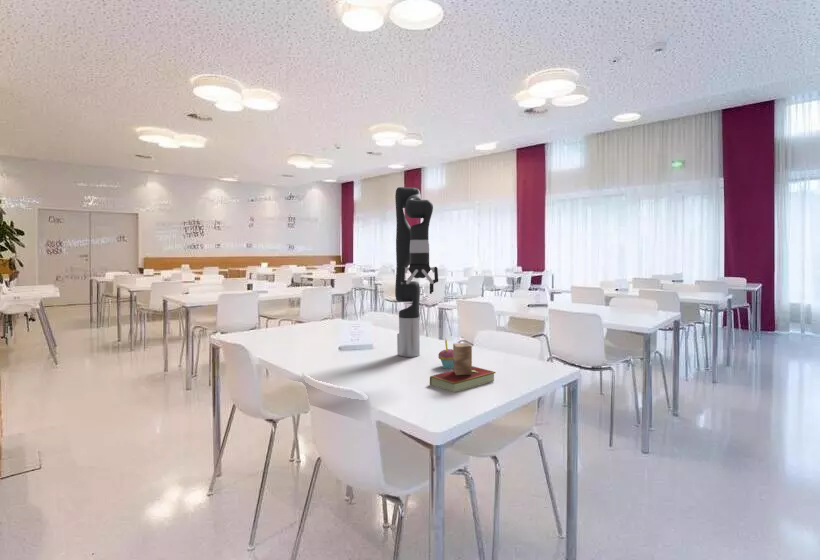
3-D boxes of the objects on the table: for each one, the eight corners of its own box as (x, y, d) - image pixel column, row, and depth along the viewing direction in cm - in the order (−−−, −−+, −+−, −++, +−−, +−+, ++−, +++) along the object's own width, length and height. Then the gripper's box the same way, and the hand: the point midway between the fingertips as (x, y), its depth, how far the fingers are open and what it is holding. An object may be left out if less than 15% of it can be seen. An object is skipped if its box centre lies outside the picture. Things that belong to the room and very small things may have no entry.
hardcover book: (429, 386, 159) (429, 374, 158) (470, 375, 172) (470, 364, 172) (454, 395, 149) (454, 382, 149) (495, 382, 163) (495, 371, 163)
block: (456, 375, 158) (456, 346, 157) (453, 371, 163) (453, 343, 163) (471, 374, 158) (471, 346, 157) (468, 370, 164) (468, 343, 163)
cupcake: (450, 370, 177) (450, 340, 176) (433, 367, 183) (433, 337, 182) (463, 366, 183) (463, 337, 182) (447, 363, 189) (446, 334, 188)
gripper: (401, 252, 171) (401, 294, 172) (438, 251, 172) (438, 294, 173) (401, 252, 179) (401, 293, 180) (437, 251, 179) (437, 292, 180)
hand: (419, 293), depth 176 cm, fingers open, 8 cm apart
